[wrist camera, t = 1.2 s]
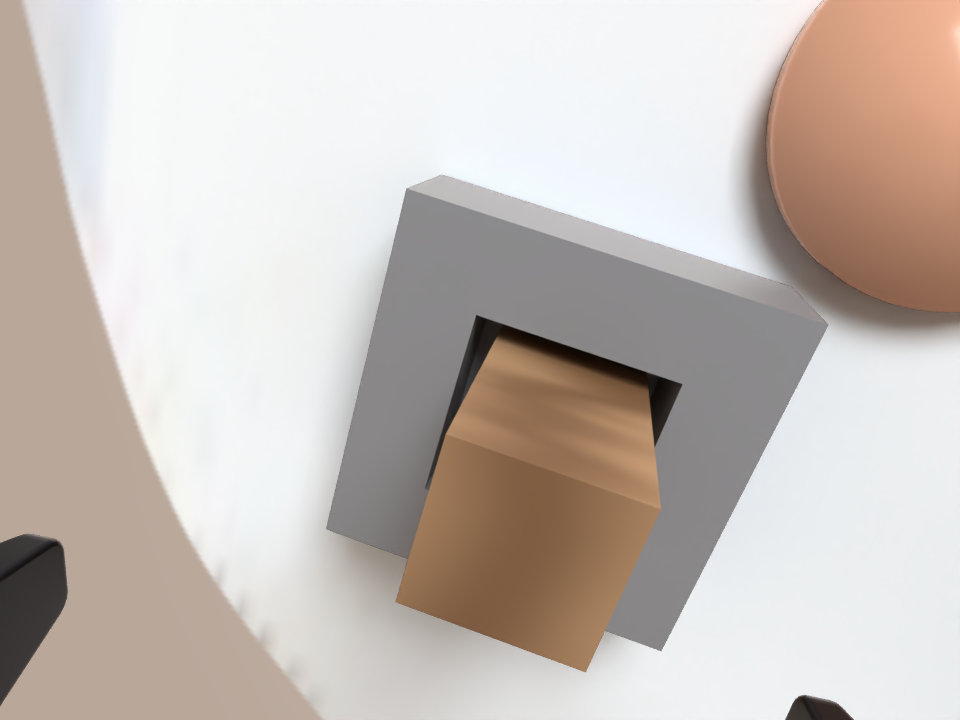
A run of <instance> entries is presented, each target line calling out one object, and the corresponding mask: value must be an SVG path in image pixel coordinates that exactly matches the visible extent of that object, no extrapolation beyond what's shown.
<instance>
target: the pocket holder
mask: <svg viewBox="0 0 960 720" xmlns="http://www.w3.org/2000/svg"><path fill="white" fill-rule="evenodd" d="M503 324H504V325H507V326H510V327H513V328H516V329H519V330H522V331H525V332H528V333H531V334H534V335H537V336H540V337H543V338H546V339H549V340H552V341H555V342H558V343H561V344H564V345H567V346H570V347H573V348H576V349H579V350H582V351H585V352H588V353H591V354H594V355H597V356H600V357H603V358H606V359H609V360H612V361H615V362H618V363H621V364H624V365H627V366H630V367H633V368H636V369H639V370H642V371H645V372H647V382H648V391H649V400H650V410H651V419H652V429H653V438H654V447H655V457H656V466H657V476H658V485H659V495H660V504H661V510H660V513H659V515H658V517H657V519H656V521H655V523H654V525H653V528H652V530H651V532H650V534H649V536H648V538H647V541H646V543H645V545H644V547H643V549H642V551H641V554H640V556H639V558H638V560H637V562H636V564H635V567H634V569H633V571H632V573H631V575H630V577H629V580H628V582H627V584H626V586H625V588H624V590H623V593H622V595H621V597H620V599H619V601H618V603H617V605H616V608H615V610H614V612H613V614H612V616H611V618H610V621H609V623H608V625H607V627H606V629H605V631H607V632H610V633H613V634H616V635H618V636H621V637H624V638H627V639H629V640H632V641H635V642H638V643H640V644H643V645H646V646H649V647H651V648H654V649H657V650H660V651H662V649H663V647H664V645H665V643H666V641H667V639H668V637H669V635H670V633H671V631H672V629H673V627H674V625H675V623H676V621H677V619H678V618H679V616H680V614H681V612H682V610H683V608H684V606H685V604H686V602H687V600H688V598H689V596H690V594H691V592H692V590H693V588H694V586H695V584H696V582H697V580H698V578H699V577H700V575H701V573H702V571H703V569H704V567H705V565H706V563H707V561H708V559H709V557H710V555H711V553H712V551H713V549H714V547H715V545H716V543H717V541H718V539H719V538H720V536H721V534H722V532H723V530H724V528H725V526H726V524H727V522H728V520H729V518H730V516H731V514H732V512H733V510H734V508H735V506H736V504H737V502H738V500H739V498H740V497H741V495H742V493H743V491H744V489H745V487H746V485H747V483H748V481H749V479H750V477H751V475H752V473H753V471H754V469H755V467H756V465H757V463H758V461H759V459H760V457H761V456H762V454H763V452H764V450H765V448H766V446H767V444H768V442H769V440H770V438H771V436H772V434H773V432H774V430H775V428H776V426H777V424H778V422H779V420H780V418H781V417H782V415H783V413H784V411H785V409H786V407H787V405H788V403H789V401H790V399H791V397H792V395H793V393H794V391H795V389H796V387H797V385H798V383H799V381H800V379H801V377H802V376H803V374H804V372H805V370H806V368H807V366H808V364H809V362H810V360H811V358H812V356H813V354H814V352H815V350H816V348H817V346H818V344H819V342H820V340H821V338H822V337H823V335H824V333H825V331H826V329H827V327H828V324H827V323H826V322H825V321H824V320H823V319H822V318H821V317H820V316H819V315H818V313H817V312H816V311H815V310H814V309H813V308H812V307H811V306H810V305H809V304H808V303H807V302H806V301H805V300H804V299H803V298H802V297H801V296H800V295H799V294H798V293H797V292H796V291H795V290H794V288H793V287H791V286H788V285H785V284H782V283H778V282H775V281H772V280H769V279H766V278H763V277H760V276H757V275H753V274H750V273H747V272H744V271H741V270H738V269H735V268H732V267H728V266H725V265H722V264H719V263H716V262H713V261H710V260H707V259H704V258H700V257H697V256H694V255H691V254H688V253H685V252H682V251H679V250H675V249H672V248H669V247H666V246H663V245H660V244H657V243H654V242H650V241H647V240H644V239H641V238H638V237H635V236H632V235H629V234H626V233H622V232H619V231H616V230H613V229H610V228H607V227H604V226H601V225H597V224H594V223H591V222H588V221H585V220H582V219H579V218H576V217H572V216H569V215H566V214H563V213H560V212H557V211H554V210H551V209H548V208H544V207H541V206H538V205H535V204H532V203H529V202H526V201H523V200H519V199H516V198H513V197H510V196H507V195H504V194H501V193H498V192H494V191H491V190H488V189H485V188H482V187H479V186H476V185H473V184H470V183H466V182H463V181H460V180H457V179H454V178H451V177H448V176H445V175H440V176H437V177H435V178H432V179H430V180H427V181H424V182H422V183H419V184H417V185H414V186H412V187H409V188H406V193H405V197H404V201H403V205H402V210H401V214H400V218H399V222H398V226H397V231H396V235H395V239H394V243H393V248H392V252H391V256H390V260H389V265H388V269H387V273H386V277H385V282H384V286H383V290H382V294H381V298H380V303H379V307H378V311H377V315H376V320H375V324H374V328H373V332H372V337H371V341H370V345H369V349H368V354H367V358H366V362H365V366H364V370H363V375H362V379H361V383H360V387H359V392H358V396H357V400H356V404H355V409H354V413H353V417H352V421H351V426H350V430H349V434H348V438H347V442H346V447H345V451H344V455H343V459H342V464H341V468H340V472H339V476H338V481H337V485H336V489H335V493H334V497H333V502H332V506H331V510H330V514H329V519H328V523H327V527H326V529H327V530H330V531H333V532H335V533H338V534H341V535H344V536H346V537H349V538H352V539H355V540H357V541H360V542H363V543H366V544H368V545H371V546H374V547H377V548H379V549H382V550H385V551H388V552H390V553H393V554H396V555H399V556H401V557H404V558H407V559H409V555H410V552H411V548H412V545H413V542H414V538H415V535H416V532H417V528H418V525H419V522H420V518H421V515H422V512H423V508H424V505H425V502H426V498H427V495H428V492H429V488H430V485H431V482H432V478H433V475H434V472H435V468H436V465H437V462H438V458H439V455H440V452H441V448H442V445H443V442H444V438H445V435H446V433H447V431H448V429H449V427H450V425H451V423H452V421H453V419H454V417H455V416H456V414H457V412H458V410H459V408H460V406H461V404H462V402H463V400H464V398H465V397H466V395H467V393H468V391H469V389H470V387H471V385H472V383H473V381H474V379H475V378H476V376H477V374H478V372H479V370H480V368H481V366H482V364H483V362H484V360H485V359H486V357H487V355H488V353H489V351H490V349H491V347H492V345H493V343H494V341H495V339H496V338H497V336H498V334H499V332H500V330H501V328H502V326H503Z"/></svg>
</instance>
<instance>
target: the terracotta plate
mask: <svg viewBox="0 0 960 720" xmlns="http://www.w3.org/2000/svg"><path fill="white" fill-rule="evenodd" d="M766 151H767V166H768V172H769V177H770V183H771V187H772V190H773V193H774V196H775V199H776V202H777V205H778V208H779V210H780V212H781V214H782V216H783V218H784V220H785V222H786V224H787V226H788V227H789V229H790V230H791V232H792V233H793V234H794V236H795V237H796V239H797V240H798V241H799V243H800V244H801V245H802V246H803V247H804V248H805V249H806V251H807V252H808V253H809V254H810V255H811V256H812V257H813V258H814V259H815V260H816V261H817V262H819V263H820V264H821V265H823V266H824V267H825V268H826V269H828V270H829V271H830V272H832V273H833V274H834V275H836V276H837V277H838V278H840V279H841V280H842V281H843V282H845V283H846V284H848V285H850V286H852V287H854V288H855V289H857V290H859V291H861V292H863V293H864V294H866V295H869V296H871V297H874V298H876V299H879V300H882V301H884V302H887V303H890V304H894V305H898V306H902V307H906V308H910V309H916V310H924V311H932V312H960V0H823V1H822V2H821V3H820V4H819V6H818V7H817V8H816V9H815V11H814V12H813V13H812V14H811V16H810V17H809V19H808V20H807V22H806V23H805V25H804V27H803V28H802V30H801V31H800V33H799V34H798V36H797V37H796V39H795V41H794V43H793V45H792V47H791V49H790V51H789V53H788V55H787V57H786V59H785V61H784V63H783V65H782V68H781V71H780V74H779V77H778V80H777V83H776V85H775V88H774V91H773V96H772V101H771V105H770V110H769V114H768V123H767V135H766Z"/></svg>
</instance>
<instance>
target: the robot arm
mask: <svg viewBox="0 0 960 720" xmlns="http://www.w3.org/2000/svg"><path fill="white" fill-rule="evenodd" d="M67 593H68V589H67V578H66V567H65V556H64V548H63V546H62V544H61V543H60V541H58V540H56V539H53V538H49V537H43V536H39V535H34V534H23V535H20V536H17V537H15V538H12V539H9V540H7V541H4V542H2V543H0V706H1V704H2V702H3V701H4V699H5V698H6V696H7V695H8V693H9V692H10V690H11V689H12V687H13V686H14V684H15V683H16V681H17V679H18V678H19V676H20V675H21V673H22V672H23V670H24V669H25V667H26V666H27V664H28V663H29V661H30V659H31V658H32V656H33V655H34V653H35V652H36V650H37V649H38V647H39V646H40V644H41V643H42V641H43V639H44V638H45V636H46V635H47V633H48V632H49V630H50V629H51V627H52V626H53V624H54V623H55V621H56V620H57V618H58V617H59V615H60V613H61V611H62V610H63V608H64V605H65V602H66V599H67ZM785 720H854V719H853V718H852V717H851V716H850V715H849V714H848V713H847V712H846V711H845V710H844V709H843V708H842V707H841V706H840V705H839V704H837V703H836V702H833V701H831V700H826V699H821V698H817V697H812V696H807V695H802V696H799V697H798V698H796V699H795V701H794V702H793V704H792V706H791V708H790V711H789V713H788V715H787V717H786V719H785Z"/></svg>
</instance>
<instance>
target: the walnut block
mask: <svg viewBox="0 0 960 720" xmlns="http://www.w3.org/2000/svg"><path fill="white" fill-rule="evenodd" d="M660 510H661V504H660V495H659V485H658V476H657V466H656V457H655V447H654V438H653V429H652V419H651V410H650V400H649V391H648V382H647V372H645V371H642V370H639V369H636V368H633V367H630V366H627V365H624V364H621V363H618V362H615V361H612V360H609V359H606V358H603V357H600V356H597V355H594V354H591V353H588V352H585V351H582V350H579V349H576V348H573V347H570V346H567V345H564V344H561V343H558V342H555V341H552V340H549V339H546V338H543V337H540V336H537V335H534V334H531V333H528V332H525V331H522V330H519V329H516V328H513V327H510V326H507V325H504V324H503V326H502V328H501V330H500V332H499V334H498V336H497V338H496V339H495V341H494V343H493V345H492V347H491V349H490V351H489V353H488V355H487V357H486V359H485V360H484V362H483V364H482V366H481V368H480V370H479V372H478V374H477V376H476V378H475V379H474V381H473V383H472V385H471V387H470V389H469V391H468V393H467V395H466V397H465V398H464V400H463V402H462V404H461V406H460V408H459V410H458V412H457V414H456V416H455V417H454V419H453V421H452V423H451V425H450V427H449V429H448V431H447V433H446V435H445V438H444V442H443V445H442V448H441V452H440V455H439V458H438V462H437V465H436V468H435V472H434V475H433V478H432V482H431V485H430V488H429V492H428V495H427V498H426V502H425V505H424V508H423V512H422V515H421V518H420V522H419V525H418V528H417V532H416V535H415V538H414V542H413V545H412V548H411V552H410V555H409V559H408V562H407V565H406V569H405V572H404V575H403V579H402V582H401V585H400V589H399V592H398V595H397V599H396V602H397V603H400V604H402V605H405V606H408V607H410V608H413V609H416V610H418V611H421V612H424V613H427V614H429V615H432V616H435V617H437V618H440V619H443V620H446V621H448V622H451V623H454V624H456V625H459V626H462V627H465V628H467V629H470V630H473V631H475V632H478V633H481V634H483V635H486V636H489V637H492V638H494V639H497V640H500V641H502V642H505V643H508V644H511V645H513V646H516V647H519V648H521V649H524V650H527V651H530V652H532V653H535V654H538V655H540V656H543V657H546V658H548V659H551V660H554V661H557V662H559V663H562V664H565V665H567V666H570V667H573V668H576V669H578V670H581V671H584V672H586V670H587V668H588V666H589V664H590V662H591V660H592V657H593V655H594V653H595V651H596V649H597V647H598V644H599V642H600V640H601V638H602V636H603V634H604V631H605V629H606V627H607V625H608V623H609V621H610V618H611V616H612V614H613V612H614V610H615V608H616V605H617V603H618V601H619V599H620V597H621V595H622V593H623V590H624V588H625V586H626V584H627V582H628V580H629V577H630V575H631V573H632V571H633V569H634V567H635V564H636V562H637V560H638V558H639V556H640V554H641V551H642V549H643V547H644V545H645V543H646V541H647V538H648V536H649V534H650V532H651V530H652V528H653V525H654V523H655V521H656V519H657V517H658V515H659V513H660Z"/></svg>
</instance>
